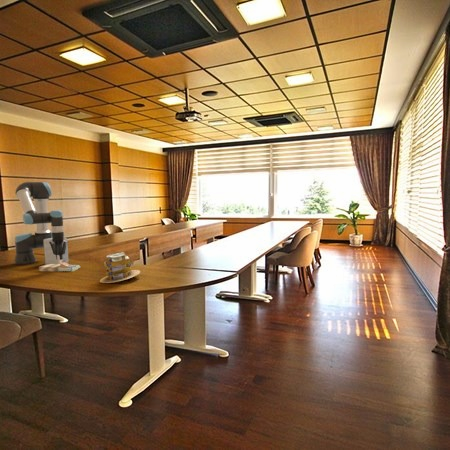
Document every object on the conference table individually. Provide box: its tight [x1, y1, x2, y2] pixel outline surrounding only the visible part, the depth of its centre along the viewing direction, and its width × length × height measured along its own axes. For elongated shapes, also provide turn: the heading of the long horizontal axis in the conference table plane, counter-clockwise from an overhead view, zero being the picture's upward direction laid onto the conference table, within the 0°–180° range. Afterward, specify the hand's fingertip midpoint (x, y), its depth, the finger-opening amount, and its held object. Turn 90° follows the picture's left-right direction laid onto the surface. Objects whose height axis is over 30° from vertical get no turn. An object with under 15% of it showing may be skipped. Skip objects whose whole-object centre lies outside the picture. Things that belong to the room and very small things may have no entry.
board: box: [38, 264, 60, 272], centre depth 223 cm, size 14×10×3 cm
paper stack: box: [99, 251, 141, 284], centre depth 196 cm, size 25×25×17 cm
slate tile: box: [66, 264, 77, 268], centre depth 222 cm, size 4×4×2 cm
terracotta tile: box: [60, 262, 71, 268], centre depth 222 cm, size 4×4×2 cm
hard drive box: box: [43, 237, 70, 265], centre depth 242 cm, size 16×8×20 cm, turn 84°
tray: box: [57, 264, 81, 273], centre depth 222 cm, size 11×10×2 cm
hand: (59, 263), depth 222 cm, fingers closed
